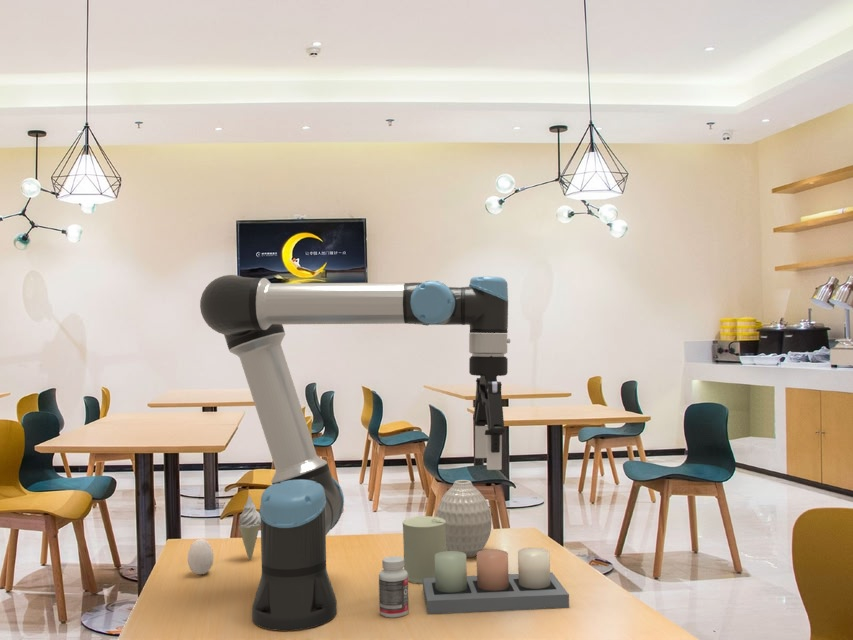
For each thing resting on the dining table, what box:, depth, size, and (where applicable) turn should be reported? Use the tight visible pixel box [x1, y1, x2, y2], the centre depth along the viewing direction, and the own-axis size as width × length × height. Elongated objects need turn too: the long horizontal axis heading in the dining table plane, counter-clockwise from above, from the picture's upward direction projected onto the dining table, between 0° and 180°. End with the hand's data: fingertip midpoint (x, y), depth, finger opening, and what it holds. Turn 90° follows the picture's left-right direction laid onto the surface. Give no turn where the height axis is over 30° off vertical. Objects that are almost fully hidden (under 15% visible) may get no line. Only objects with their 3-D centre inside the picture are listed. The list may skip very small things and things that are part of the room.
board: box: [422, 571, 570, 615], centre depth 143 cm, size 26×13×2 cm, turn 94°
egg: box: [187, 538, 214, 575], centre depth 162 cm, size 5×5×8 cm
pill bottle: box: [378, 555, 410, 618], centre depth 137 cm, size 5×5×10 cm
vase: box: [435, 479, 493, 559], centre depth 173 cm, size 13×13×17 cm
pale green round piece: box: [435, 550, 468, 593], centre depth 143 cm, size 6×6×6 cm
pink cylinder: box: [476, 548, 509, 591], centre depth 143 cm, size 6×6×6 cm
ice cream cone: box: [237, 494, 261, 561], centre depth 172 cm, size 5×5×15 cm
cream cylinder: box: [517, 547, 551, 589], centre depth 144 cm, size 6×6×6 cm
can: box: [402, 515, 447, 585], centre depth 157 cm, size 9×9×12 cm
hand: (487, 463), depth 148 cm, fingers open, 13 cm apart
